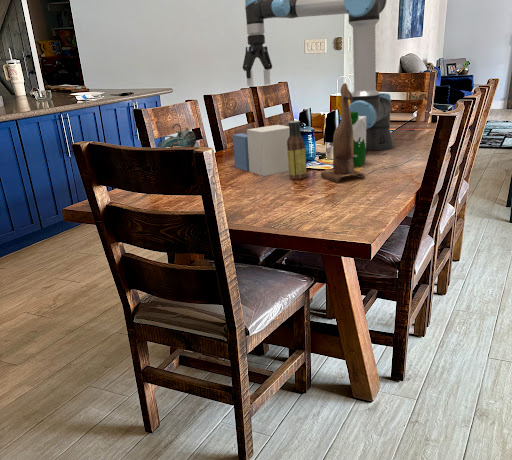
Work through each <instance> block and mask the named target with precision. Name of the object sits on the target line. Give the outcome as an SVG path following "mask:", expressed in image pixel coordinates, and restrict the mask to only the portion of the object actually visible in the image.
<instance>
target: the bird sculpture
mask: <svg viewBox="0 0 512 460" xmlns="http://www.w3.org/2000/svg"><path fill="white" fill-rule="evenodd" d="M340 100H341V118H340V119H341V120H340V122H339V124H338V125H337V126H336V128H335V129H334V132H333V136H332V137H333V139H332V167H333V168H332V169H327V170H322V171H321V172H320V178H323V179H324V180H325V179H326V180H328V181H330V182H334V183H336V184H338V183H339V182H340V180H341V179H342V178H343V177H347V176H348V177H349V176H356V177H360V178H362V179H366V175H365V173H364V172H360V171H357V170H355V167H354V164H353V154H354V152H353V146H354V145H353V126H352V120H351V113H350V108H349V106H350V103H349V101H351V100H352V92H351V91H350V89H349V87H348V84H347V83H346V82H344V83H343V84H342V85H341V87H340ZM348 100H349V101H348Z"/></svg>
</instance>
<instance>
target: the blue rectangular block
mask: <svg viewBox="0 0 512 460" xmlns="http://www.w3.org/2000/svg"><path fill="white" fill-rule="evenodd" d="M232 147H233V159H234V168H236V169H238V170H242V171H245V172H250V170H249V154H248V139H247V133H235V134H234V133H233V134H232Z"/></svg>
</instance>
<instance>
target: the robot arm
mask: <svg viewBox="0 0 512 460" xmlns="http://www.w3.org/2000/svg"><path fill="white" fill-rule="evenodd" d="M387 2H388V1H387V0H245V1H244V3H245V4H244V5H245V8H244V9H245V18H246V34H247V35H248V36H247V44H248V46H245V53H244V59H243V64H242V70H243V71H244V72H246V73H245V74H246V75H245V76H246V86H247V87H254V72H253V70H252V69H253V66H254V63H255V60H256V59H257V58H258V59H259V62H260V63H261V65H262V67H263V82H264V83H263V85H271V78H270V77H271V73H270V70H272V68H273V64H272V61H271V57H270V55H269V54H270V53H269V51H268V46H267V45H266V46H264V44H266V39H265V37H266V36H265V24H264V23H265V20H266V19H275V18H276V19H278V18H279V19H280V18H281V19H295V18H303V17H304V18H306V17H307V18H308V17H317V16H318V17H319V16H332V15H333V16H335V15H347V14H348V24H349V25H350V26H351V27H352V49H353V50H352V52H353V53H352V56H353V57H352V58H353V91H352V92H351V94H352V100H351V101H350V100H349V101H350V103H349V108H350V112H358V116H366V151H383V150H390V149H393V148H394V139H393V136H392V133H391V103H392V100H391V95H390V94H389V93H381V92H379V91H378V90H377V85H376V84H377V82H376V81H377V77H376V76H377V75H376V74H377V70H376V69H377V68H376V67H377V66H376V65H377V64H376V61H377V60H376V58H377V57H376V56H377V55H376V49H377V48H376V25H377V24H378V23H379V21H380V14H381V13H382V12H383V11H384V10H385V7H386V5H387Z"/></svg>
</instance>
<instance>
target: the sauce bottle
mask: <svg viewBox="0 0 512 460" xmlns="http://www.w3.org/2000/svg"><path fill="white" fill-rule="evenodd" d="M287 125H288V126H289V131H290V133H289V134H290V136H289V138H288V140H287V153H288V167H289V171H288V175H289V178H290V179H291V180H303V179H306V178H307V172H308V170H307V158H306V157H307V155H306V146H305V140H304V138H303V136H302V134H301V121H300V120H290V121H288V124H287Z"/></svg>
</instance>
